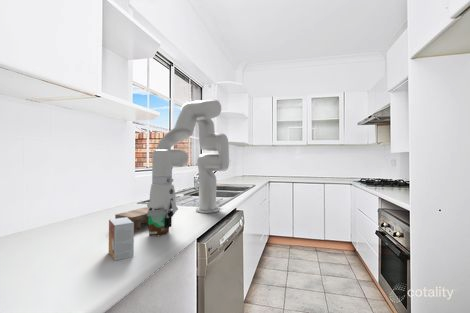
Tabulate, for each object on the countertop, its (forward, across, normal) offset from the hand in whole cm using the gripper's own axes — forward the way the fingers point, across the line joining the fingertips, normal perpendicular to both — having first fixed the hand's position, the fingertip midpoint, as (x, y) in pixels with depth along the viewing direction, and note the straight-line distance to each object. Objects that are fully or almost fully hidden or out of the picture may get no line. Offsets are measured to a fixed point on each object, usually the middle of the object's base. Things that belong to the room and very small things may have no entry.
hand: (161, 225), depth 97 cm
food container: (+3, -1, 0) cm, 3 cm away
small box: (+3, -4, +22) cm, 22 cm away
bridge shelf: (+3, +15, -2) cm, 15 cm away
